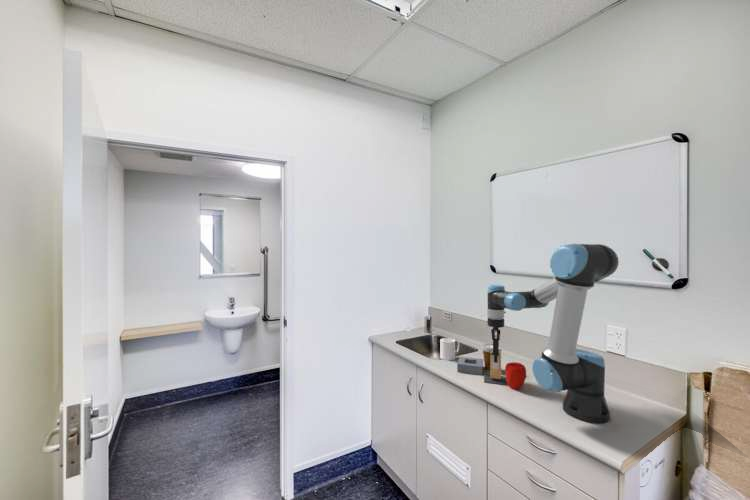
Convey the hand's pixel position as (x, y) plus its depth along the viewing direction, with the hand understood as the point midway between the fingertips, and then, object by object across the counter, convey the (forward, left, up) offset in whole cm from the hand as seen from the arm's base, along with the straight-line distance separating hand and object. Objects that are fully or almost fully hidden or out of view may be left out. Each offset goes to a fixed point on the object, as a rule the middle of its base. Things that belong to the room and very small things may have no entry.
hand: (495, 366), depth 154 cm
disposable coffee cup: (+13, +2, -6) cm, 15 cm away
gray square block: (+10, +12, -6) cm, 17 cm away
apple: (-6, -8, -6) cm, 12 cm away
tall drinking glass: (0, 0, -5) cm, 5 cm away
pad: (0, 0, -6) cm, 6 cm away
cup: (+25, +24, -6) cm, 35 cm away
